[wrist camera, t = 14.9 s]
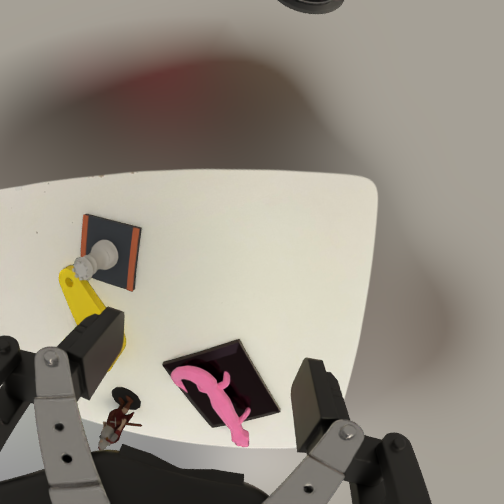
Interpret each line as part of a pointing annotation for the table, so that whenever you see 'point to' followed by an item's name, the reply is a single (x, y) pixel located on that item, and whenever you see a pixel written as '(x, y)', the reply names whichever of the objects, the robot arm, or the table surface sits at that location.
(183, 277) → the table surface
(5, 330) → the table surface
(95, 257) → the rook chess piece
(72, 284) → the crank
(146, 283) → the table surface
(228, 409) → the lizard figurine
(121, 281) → the mat
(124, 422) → the figurine
